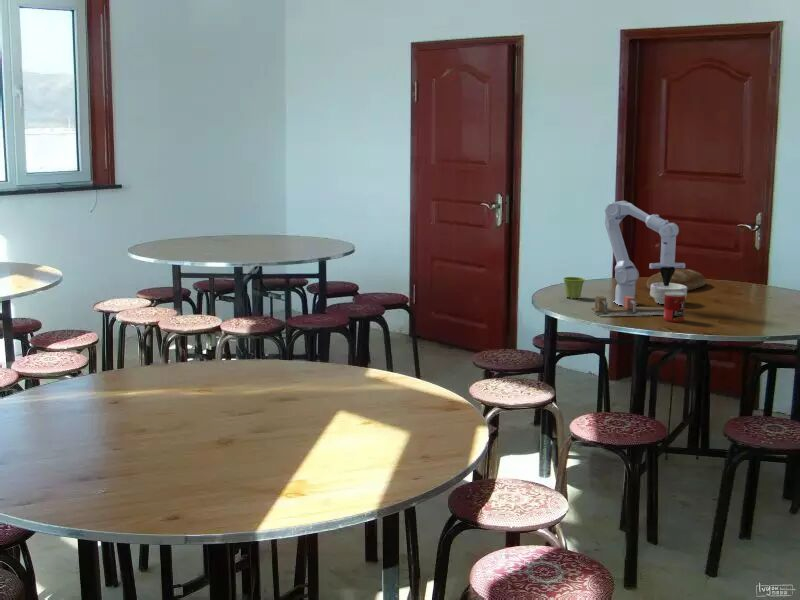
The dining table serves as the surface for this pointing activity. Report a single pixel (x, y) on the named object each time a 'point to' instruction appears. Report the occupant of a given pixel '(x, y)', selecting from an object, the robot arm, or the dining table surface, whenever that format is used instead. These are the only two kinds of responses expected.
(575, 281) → the plant pot
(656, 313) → the hole plate
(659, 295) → the paper bowls
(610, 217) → the robot arm
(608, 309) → the gauge beam
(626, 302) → the sliding leg
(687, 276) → the bread
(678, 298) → the canned food
